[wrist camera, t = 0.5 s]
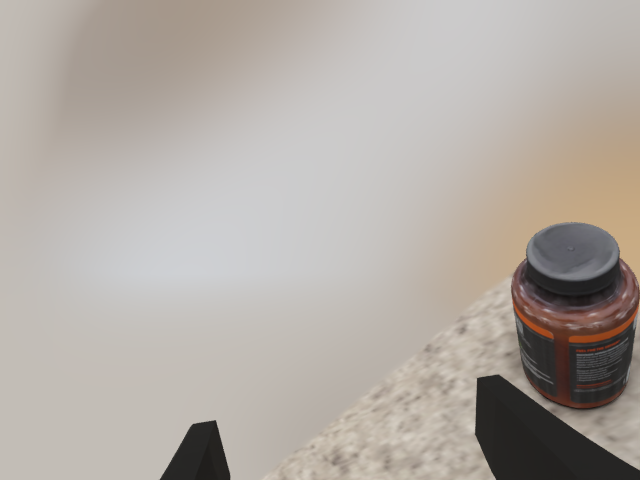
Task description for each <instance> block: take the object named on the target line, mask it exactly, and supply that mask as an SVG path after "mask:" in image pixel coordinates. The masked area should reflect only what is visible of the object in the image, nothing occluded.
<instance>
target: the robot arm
mask: <svg viewBox="0 0 640 480" xmlns="http://www.w3.org/2000/svg"><path fill="white" fill-rule="evenodd" d="M475 435H476V437H477V439H478V442H479V444H480V446H481V449H482V451H483V453H484V456H485V458H486V460H487V462H488V465H489V467H490V469H491V471H492V473H493V475H494V476H495V478H496V480H640V470H638V469H636V468H634V467H633V466H631V465H629V464H628V463H626V462H624V461H623V460H621V459H619V458H618V457H616V456H615V455H613V454H611V453H610V452H608V451H607V450H605V449H604V448H602V447H600V446H599V445H597V444H596V443H594V442H593V441H591V440H589V439H588V438H586V437H585V436H583V435H582V434H580V433H579V432H577V431H576V430H575V429H573V428H572V427H570V426H569V425H567V424H566V423H564V422H563V421H562V420H560V419H559V418H557V417H556V416H554V415H553V414H552V413H550V412H549V411H547V410H546V409H545V408H543V407H542V406H541V405H539V404H538V403H537V402H535V401H534V400H532V399H531V398H530V397H528V396H527V395H526V394H524V393H523V392H522V391H520V390H519V389H518V388H516V387H515V386H514V385H512V384H511V383H510V382H508V381H507V380H505V379H504V378H503V377H501V376H500V375H492V376H486V377H480V378H477V397H476V426H475ZM160 480H230V472H229V468H228V465H227V461H226V457H225V453H224V449H223V446H222V442H221V438H220V435H219V430H218V427H217V423H216V420H214V421H209V422H202V423H196V424H193V425H192V426H191V427H190V429H189V430H188V432H187V434H186V436H185V437H184V439H183V441H182V443H181V444H180V446H179V448H178V450H177V452H176V453H175V455H174V457H173V458H172V460H171V462H170V464H169V465H168V467H167V469H166V470H165V472H164V474H163V475H162V477H161V479H160Z"/></svg>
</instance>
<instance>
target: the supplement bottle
mask: <svg viewBox="0 0 640 480" xmlns="http://www.w3.org/2000/svg"><path fill="white" fill-rule="evenodd" d="M619 252H620V251H619V247H618V244H617V242H616V241H615V239H614V238H613V237H612V236H611V235H610V234H609V233H608V232H606V231H604V230H603V229H601V228H599V227H596V226H593V225H590V224H585V223H576V222H574V223H573V222H571V223H560V224H555V225H552V226H549V227H547V228H545V229H543V230H541V231H539V232H538V233H536V234H535V235H534V236H533V237H532V238H531V240H530V241H529V243H528V246H527V249H526V256H527V258H526V259H524V261H522V263H520V264H519V266H518V267H517V269H516V271H515V273H514V276H513V279H512V284H511V292H512V300H513V307H514V315H515V320H516V327H517V334H518V341H519V346H520V353H521V360H522V364H523V368H524V371H525V374H526V376H527V378H528V379H529V381H530V382H531V383H532V385H533V386H534V387H535V388H536V389H537V390H538V391H539V392H540V393H541V394H543V395H544V396H546V397H547V398H549V399H551V400H553V401H555V402H557V403H560V404H563V405H566V406H570V407H575V408H592V407H597V406H601V405H604V404H607V403H609V402H611V401H612V400H614V399H615V398H616V397H618V396H619V395H620V394H621V392H622V391H623V389H624V388H625V386H626V384H627V380H628V377H629V372H630V365H631V358H632V351H633V343H634V337H635V330H636V322H637V315H638V307H639V299H640V290H639V284H638V281H637V279H636V277H635V274H634V273H633V272H632V270H631V269H630V267H629V266H628V265H627V264H626V263H625V262H624V261H623V260H622V259H620V258H619V254H620V253H619Z"/></svg>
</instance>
